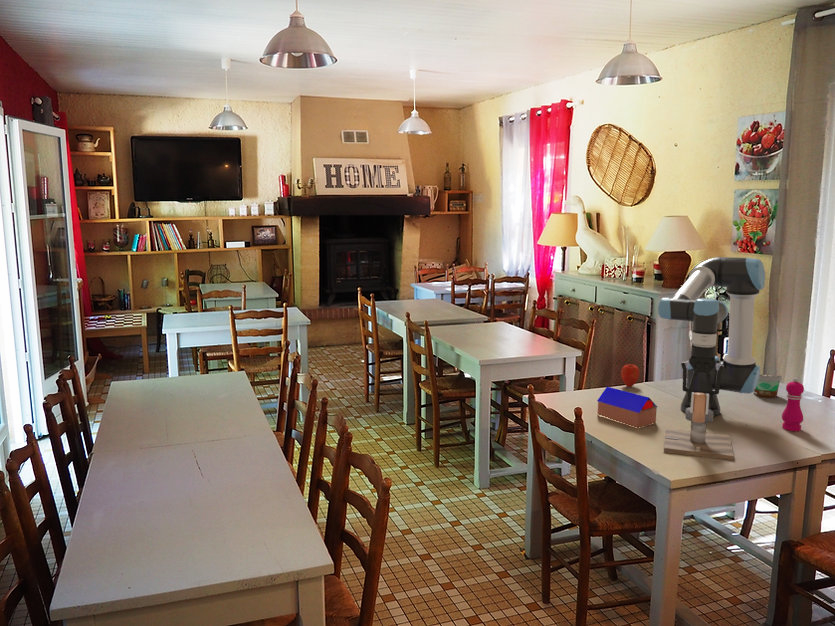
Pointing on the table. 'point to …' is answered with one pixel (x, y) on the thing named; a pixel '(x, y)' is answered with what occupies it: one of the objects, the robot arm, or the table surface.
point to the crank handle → (699, 411)
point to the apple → (630, 374)
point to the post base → (698, 443)
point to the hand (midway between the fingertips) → (698, 412)
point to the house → (627, 407)
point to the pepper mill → (793, 407)
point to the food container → (767, 386)
